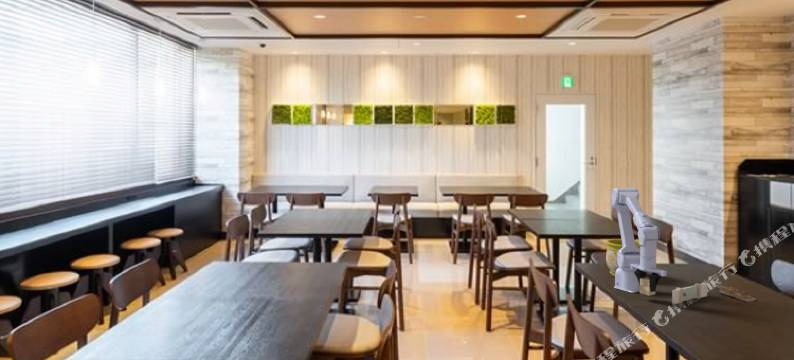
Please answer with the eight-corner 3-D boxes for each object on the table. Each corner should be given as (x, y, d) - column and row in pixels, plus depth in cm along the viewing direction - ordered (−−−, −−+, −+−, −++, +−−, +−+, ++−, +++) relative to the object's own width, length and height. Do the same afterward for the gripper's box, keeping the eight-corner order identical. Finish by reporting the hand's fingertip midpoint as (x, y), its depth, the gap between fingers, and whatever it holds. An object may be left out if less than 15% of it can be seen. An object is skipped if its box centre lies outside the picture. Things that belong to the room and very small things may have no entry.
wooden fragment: (762, 303, 197) (763, 300, 197) (731, 302, 199) (731, 299, 199) (732, 286, 223) (732, 283, 223) (704, 285, 225) (705, 282, 225)
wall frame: (671, 303, 198) (671, 288, 198) (702, 295, 208) (703, 281, 208) (675, 304, 197) (676, 290, 196) (707, 296, 207) (708, 282, 206)
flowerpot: (605, 279, 235) (606, 244, 234) (605, 270, 251) (606, 237, 250) (648, 282, 228) (649, 246, 227) (645, 273, 245) (646, 239, 244)
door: (679, 300, 200) (679, 288, 200) (694, 296, 205) (694, 285, 204) (683, 301, 199) (683, 289, 198) (698, 297, 203) (698, 286, 203)
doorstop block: (639, 293, 203) (640, 278, 203) (646, 291, 205) (646, 277, 205) (648, 295, 200) (649, 280, 199) (655, 294, 202) (655, 279, 201)
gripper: (625, 254, 206) (625, 287, 207) (658, 261, 193) (657, 296, 194) (637, 252, 209) (636, 284, 210) (670, 259, 196) (669, 293, 197)
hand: (647, 290), depth 202 cm, fingers closed on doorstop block, 4 cm apart
